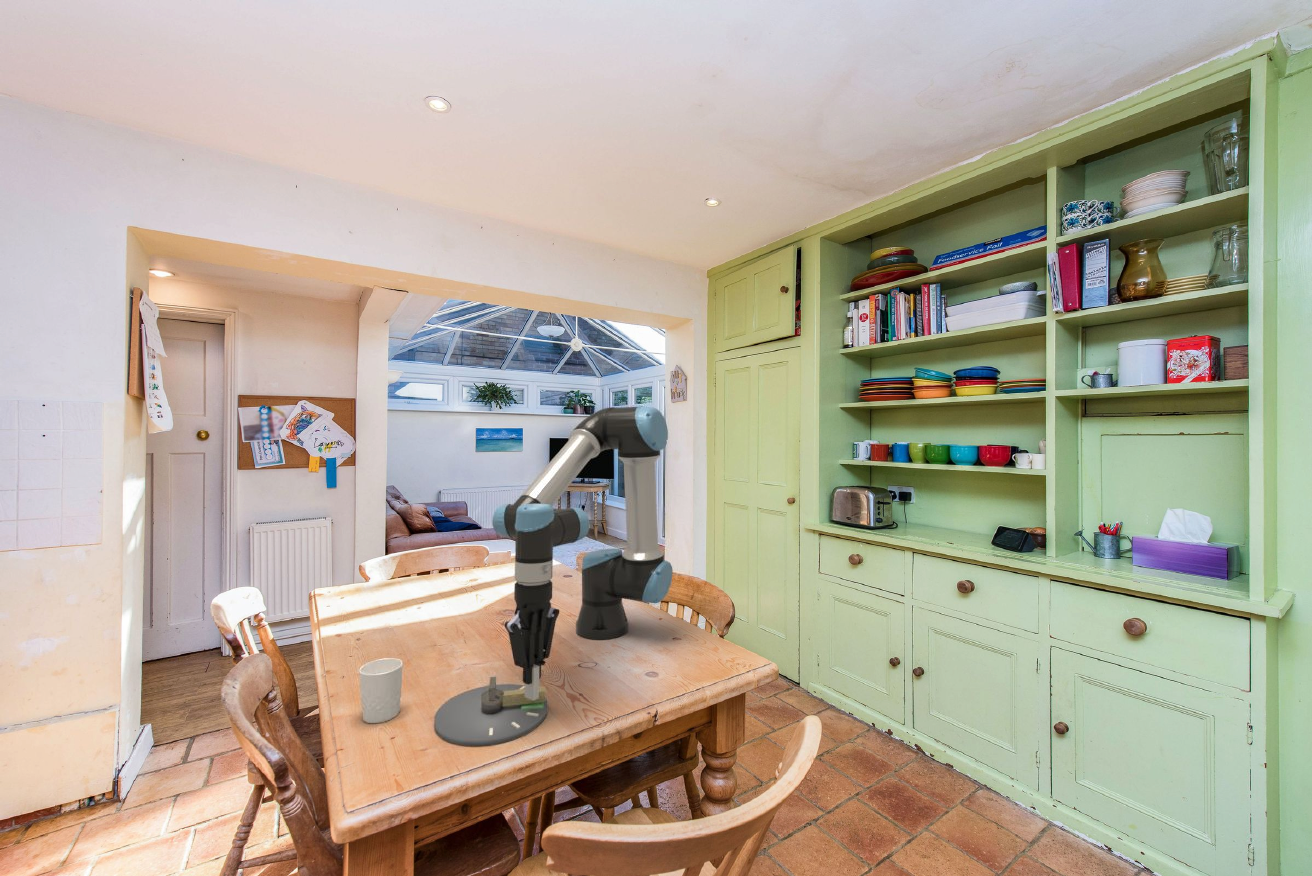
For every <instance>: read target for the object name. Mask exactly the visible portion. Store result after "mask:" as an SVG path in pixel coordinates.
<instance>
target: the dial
mask: <svg viewBox="0 0 1312 876" xmlns="http://www.w3.org/2000/svg"><path fill="white" fill-rule="evenodd" d="M496 689H500V690H502V691H509V690H519V689H525V685H522V684H514V683H500V684H497V683H496ZM487 690H489V685H484V686H480V687H475V688H472V689H468V690H466V691H464V692H461V693H458V694H457V695H454V696H453V697H451V698H449V699H448V700H447V701H445V702H444V703H443V704H441V706H440V707H438V709H437V710H436V712H435V715H434V720H433V727H434V731H435V733H436V735H437V736H438V738H441V739H442V740H443V741H445V742H448V743H450V744H453V745H457V746H462V747H463V746H464V747H488V746H494V745H495V746H496V745H499V744H503V743H504V744H505V743H507V742H511V741H514V740H516V739H519V738H521V737H523V736H526V735H528V734H529V733H531V732H533V731H534V730H535V729H537V728H538V727H539V726H540V725H541V724H542V723H543V721H544V720H546V717H547V715H548V700H547V698H546V696H545V702H538V703H529V704H521V705H512V706H504V707H503V709H502V710H500V711H498V712H496V713H484V712H482V711H481V694H482V693H483V692H485V691H487Z"/></svg>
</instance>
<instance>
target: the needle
mask: <svg viewBox="0 0 1312 876" xmlns="http://www.w3.org/2000/svg"><path fill="white" fill-rule="evenodd" d="M496 685H497V676H491V677H489V684H488V686H489V690H487V691H485V692H483V693H482V694H481V711H482V712H484V713H496V712H498V711H500V710H502V709H503V707H504V706H512V705H521V704H529V703H538V702H545V697H546V686H539V698H538V699H536V700H534V701H533V700H531V699H528V698H526V697H525V689H519V690H509V691H502V690H500V689H496Z"/></svg>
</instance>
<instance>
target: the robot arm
mask: <svg viewBox="0 0 1312 876" xmlns="http://www.w3.org/2000/svg"><path fill="white" fill-rule="evenodd" d="M668 431H669V429H668V426H667V421H666V419H665V417H664V415H663V414H662V412H661V411H660V410H659V409H657V408H655V407H652V406H651V407H650V406H642V405H641V406H628V407H626V406H624V407H623V406H620V407H619V406H618V407H605V408H602V409H599V410H597V411H595V412H593V413H592V414H590V415H589V416H587V417H585V418H584V419H583V420H582V421H581V422H580V423H578V424H577V425H576V426H575V428H573V430H572V431H570V434H569V435H568V441H567V442H566V443H565V444H564V446H563V447H562V448H561V449H560V450H559V452H557V454H555V456H554V457H553V458H552V459H551V460H550V462H549V463H548V464H547V465H546V466H545V467H544V468H543V470H542V471H541V472H540V473H539V474H538V475H537V476H536V478H535V479H534V480H533V481H532V482H531V484H529V486H528V487H527V488H526V489H525V490H524V491H523V493H522V494H521V495H520V496H519V497H518V498H517V499H516V500H515V502H514V503H512V504H511V503H508V504H502V505H500V506H498V507H497V508H496V509H495V511H494V512H493V515H492V521H491V523H492V527H493V531H494V532H495V533H496V534H497V535H499V536H501V537H505V538H509V539H515V540H514V541H515V556H514V559H515V560H514V580H515V581H516V582H515V583H514V597H513V598H514V602H515V604H516V607H515V610H514V612H513V613H514V616H513V618H511V620H510V621H507V620H506V621H505V622H504V628H505V629H506V631H507V633H508V638H509V642H510V649H511V652H512V653H511V654H512V659H513V662H514V666H516V667H519V668H521V669H522V682H523V684H524V686H525V697H526V698H528V699H531V700H533V701H534V700H536V699H538V698H539V687H540V680H541V678H542V666H545V665H546V662H547V661H546V660H545V659H549V657H550V654H551V649H552V643H553V638H554V633H555V627H556V623H557V622H556V621H557V620H558V616H559V615H560V609H558V608H554V607H552V604H551V600H552V599H553V581H551V580H552V579H553V561H554V559H553V558H554V555H553V554H554V548H555V547H559V546H564V545H568V544H574V543H577V542H579V541H580V540H583V539H584V538H585V537H586V536H587V535H588V533H589V531H590V518H589V516H588V514H587V513H586V512H585V511H584V510H583V509H581V508H578V507H567V508H554V507H553V506H554V505H555V504H556V503H557V501H558V500H559V499H560V497H561V496H562V495H563V494H564V492H565V491H566V490H567V488H568V487H570V485H571V484H572V483H573V481H574V480H575V479H576V477H577V476H578V475H579V474H580V473H581V471H582V470H583V469H584V467H585V466H586V465H587V464H588V462H590V460H591V459H594V458H596V457H598V456H599V454H600V453H601V452H603V451H605V450H606V451H607V450H617V458H618V459H619V460H620V461H621V462H622V463H623V475H624V477H623V479H624V481H623V482H624V500H625V502H624V503H625V504H624V505H625V525H626V549H624V551H623V550H622V549H620V548H604V549H598V550H592V551H590V552H587V553H586V554H584V555H583V557H582V563H581V606H580V610H579V613H578V618H577V620H576V622H575V633H576V634H577V635H578V636H579V637H582V638H586V639H589V640H609V639H616V638H619V637H621V636H624V635H625V634H626V633H628V631H629V621H628V618H627V613H626V612H625V611H626V610H625V608H624V605H623V599H625V600H629V601H630V600H631V601H635V602H641V603H644V604H648V603H650V604H659V603H661V602H662V601H664V599H665V598H666V596H667V595H668V593H669V590H670V588H671V586H672V581H673V571H674V570H673V566H672V564H671V562H669V561H668V560H665V554H664V553H665V552H664V550H662V549H661V548H660V546H659V537H658V536H659V535H658V513H657V512H658V509H657V506H658V505H657V482H656V480H657V479H656V461H657V460H658V459H659V458H660V457H661V451H663V450H664V449H665V448H666V446H667V445H668V442H667V441H668V439H669V432H668Z"/></svg>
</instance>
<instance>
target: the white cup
mask: <svg viewBox="0 0 1312 876" xmlns="http://www.w3.org/2000/svg"><path fill="white" fill-rule="evenodd" d="M358 671H359V672H358V673H359V690H360V691H359V692H360V703H361V704H360V705H361V709H362V710H361V711H362V721H364V722H365V723H367V724H380V723H384V722H388V721H390V720H392V719H394V718H395V717H397V716H398V714H399V713H400V712H401V696H402V686H403V685H402V684H403V661H402V660H401V659H399V658H395V657H394V658H392V657H391V658H390V657H387V658H386V657H385V658H380V659H375V660H372V661H369V662H367V663H365V664H363V665H362V666H361V667H359V670H358Z"/></svg>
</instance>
